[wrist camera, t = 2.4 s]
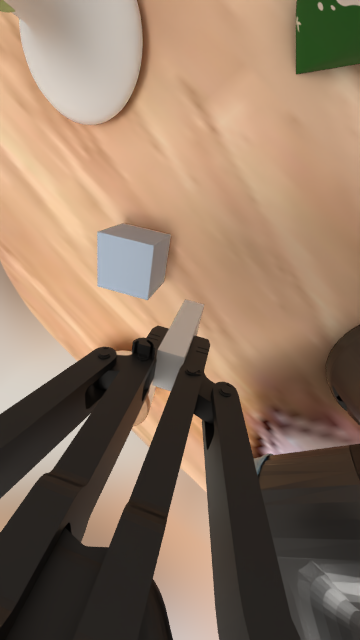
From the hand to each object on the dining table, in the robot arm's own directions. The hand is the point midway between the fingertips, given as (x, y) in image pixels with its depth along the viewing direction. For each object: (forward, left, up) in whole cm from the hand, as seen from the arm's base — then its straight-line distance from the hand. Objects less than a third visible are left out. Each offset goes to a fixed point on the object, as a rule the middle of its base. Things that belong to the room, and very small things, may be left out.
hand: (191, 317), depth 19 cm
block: (+9, 0, -13) cm, 15 cm away
